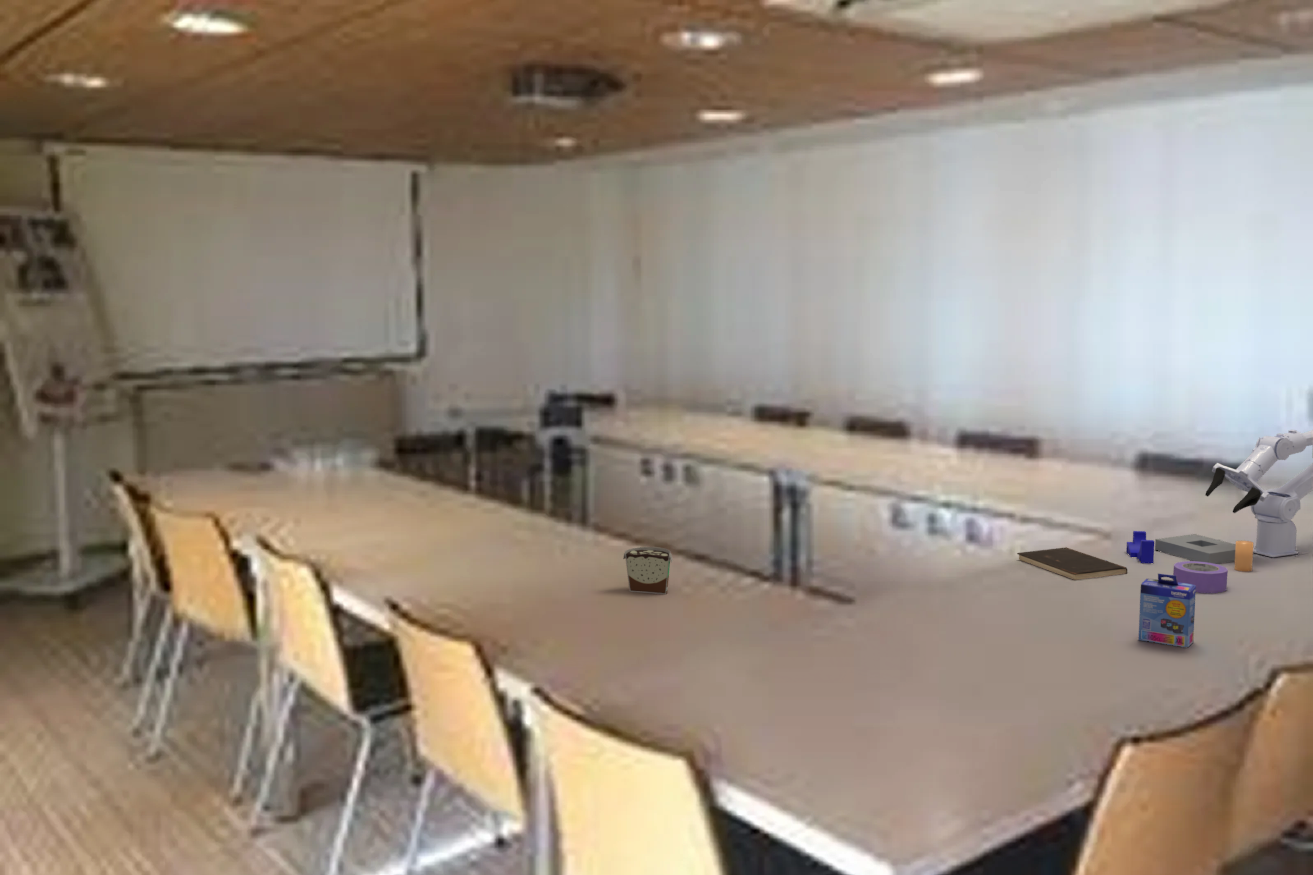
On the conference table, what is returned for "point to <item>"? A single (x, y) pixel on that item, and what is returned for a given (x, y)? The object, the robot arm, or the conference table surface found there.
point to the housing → (1197, 548)
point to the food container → (648, 569)
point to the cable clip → (1141, 547)
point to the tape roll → (1202, 576)
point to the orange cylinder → (1243, 556)
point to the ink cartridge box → (1167, 611)
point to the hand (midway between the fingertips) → (1220, 502)
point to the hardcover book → (1072, 563)
